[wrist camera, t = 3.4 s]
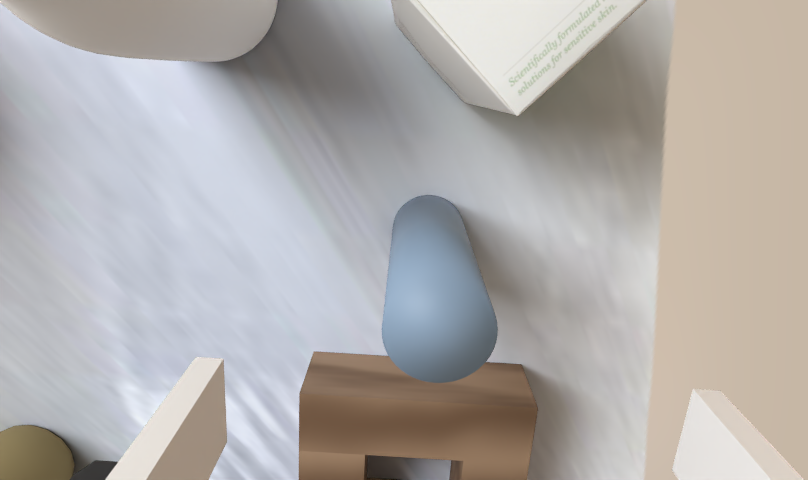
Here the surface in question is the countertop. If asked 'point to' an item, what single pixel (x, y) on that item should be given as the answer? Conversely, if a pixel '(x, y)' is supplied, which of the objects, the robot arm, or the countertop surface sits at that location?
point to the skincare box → (507, 43)
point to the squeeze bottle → (34, 455)
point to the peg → (435, 295)
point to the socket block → (413, 419)
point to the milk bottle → (152, 26)
